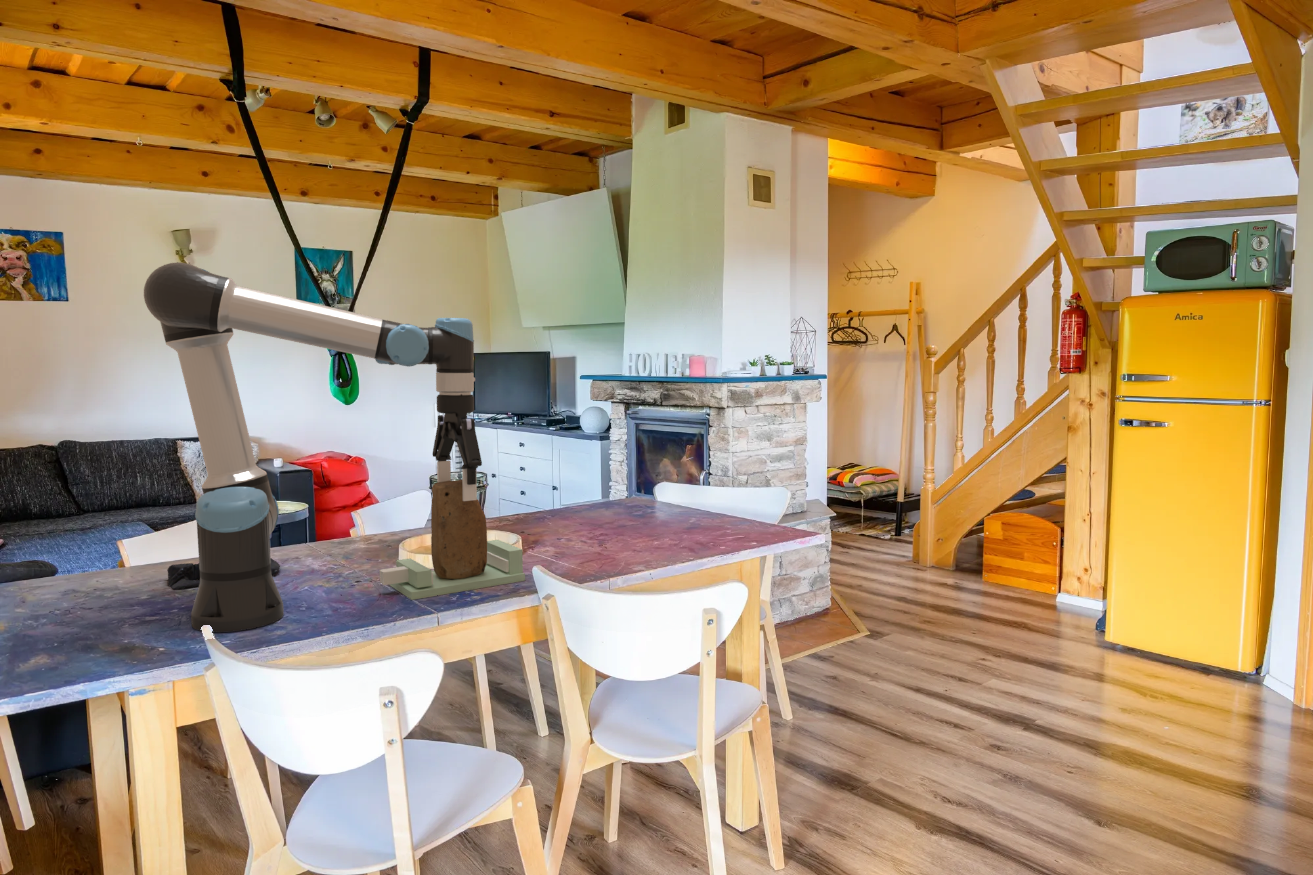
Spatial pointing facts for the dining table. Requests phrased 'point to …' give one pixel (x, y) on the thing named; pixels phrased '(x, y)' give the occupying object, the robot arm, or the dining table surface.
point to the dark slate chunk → (194, 574)
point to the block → (457, 532)
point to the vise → (498, 571)
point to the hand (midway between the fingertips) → (456, 495)
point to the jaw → (407, 574)
